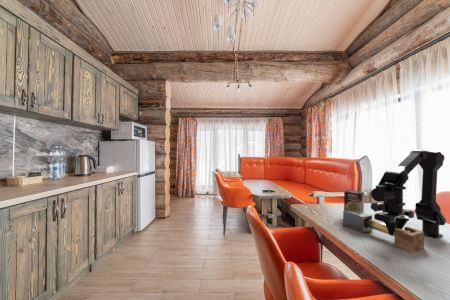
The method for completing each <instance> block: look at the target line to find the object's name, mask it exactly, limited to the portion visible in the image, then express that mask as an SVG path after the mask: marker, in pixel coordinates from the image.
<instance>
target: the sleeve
mask: <svg viewBox="0 0 450 300" xmlns="http://www.w3.org/2000/svg"><path fill="white" fill-rule="evenodd" d="M342 213H343V214H342V215H343V216H342V217H343V219H342V220H343V221H342V222H343V223H342V225H343V226H344V227H346V228H349V229H352V230H354V231H357V232H360V233H363V234H365V233H369V232H372V231H373V229H371V228H369V227H366V226H365V219H366V218H367V219H370V220H373V214H369V213H366V212H364V213H363V212H359V211H356V210H353V209H350V210H345V211H344V210H343V211H342Z"/></svg>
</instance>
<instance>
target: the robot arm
mask: <svg viewBox="0 0 450 300" xmlns="http://www.w3.org/2000/svg"><path fill="white" fill-rule="evenodd" d="M444 161H445V155H444V154H443V153H442V152H441V151H427V150H424V149H413V150H411V151H410V152H409V155H407V156H406V157H405V158H404V159H403V160H401V162H400V163H399V164H398V165H397V166H395V167H391V168H389V169H387V170H386V171H384V173H383V175H382V177H381V179H380V180H379V182H378V184H377V185H375V188H373V189H372V190H371V192H370V196H371V198H372V199H373V200H374V201H375V202H371V204H370V210H372V211H373V212H375V214H374V217H373V220H374V221H378V222H381V223H383V224H385V225H386V227H387V229H388V232H389V234H388V235H389V236H392V237H394V236H393V234H394V232H395V229H396V228H399V229H402V230H403V229H404V227H405V226H406V224H407V223H408V222H409V221H410V219H413V218H415V216H416V219H417V220H418V221H419V220H420V221H422V223H421V225H422V226H421V227H422V229H421V231H423V232H424V236H428V237H431V238H434V239H438V238H441V237H443V236H444V234H442V233H440V226H445V225H446V222H447V219H446V217H444V216H443V214H442V211H441V206H440V205H439V204H438V202H437V189H438V188H437V186H438V185H437V184H438V171H439V169H441V168H442V167H443V165H444ZM418 165H419V167H420V168H421V169H422V178H421V179H422V182H421V183H422V184H421V199H420V200H419V202H415V209H414V212H413V211H412V210H409V209H405V208H403V207H404V206H406V203H405V202H404V190H406V189H407V188H406V186H405V184H406V183H407V181H408V180H409V174H410V173H411V172H412V171H413V170H414V169H415V168H416V167H417V166H418ZM377 202H378V203H377ZM380 202H383V203H380ZM406 217H408V218H406Z"/></svg>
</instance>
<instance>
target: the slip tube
mask: <svg viewBox="0 0 450 300" xmlns="http://www.w3.org/2000/svg"><path fill="white" fill-rule="evenodd" d="M365 226H366V227H369V228H371V229H372V230H374V231H377V232H381V233H384V234H385V235H389V232H388V229H387V227H386V225H385V223H384V222H381V221H378V220H375V219H372V220H370V219H367V218H366V219H365ZM397 229H398V230H401V231H404V232H407V233H412V232H410V231H406V230H404V229H403V228H402V229H399V228H396V229H395V230H397ZM392 237H394V238H395V232H394V234H393V236H392Z"/></svg>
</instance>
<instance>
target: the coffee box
mask: <svg viewBox="0 0 450 300" xmlns="http://www.w3.org/2000/svg"><path fill="white" fill-rule="evenodd" d="M343 192H344V194H343V198H344V199H343V204H344V205H343V211H345V210H350V209H353V210H356V211H359V212H363V213H365V212H364V211H365V192H364V191H357V190H351V189H350V190H348V189H347V190H344V191H343Z"/></svg>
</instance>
